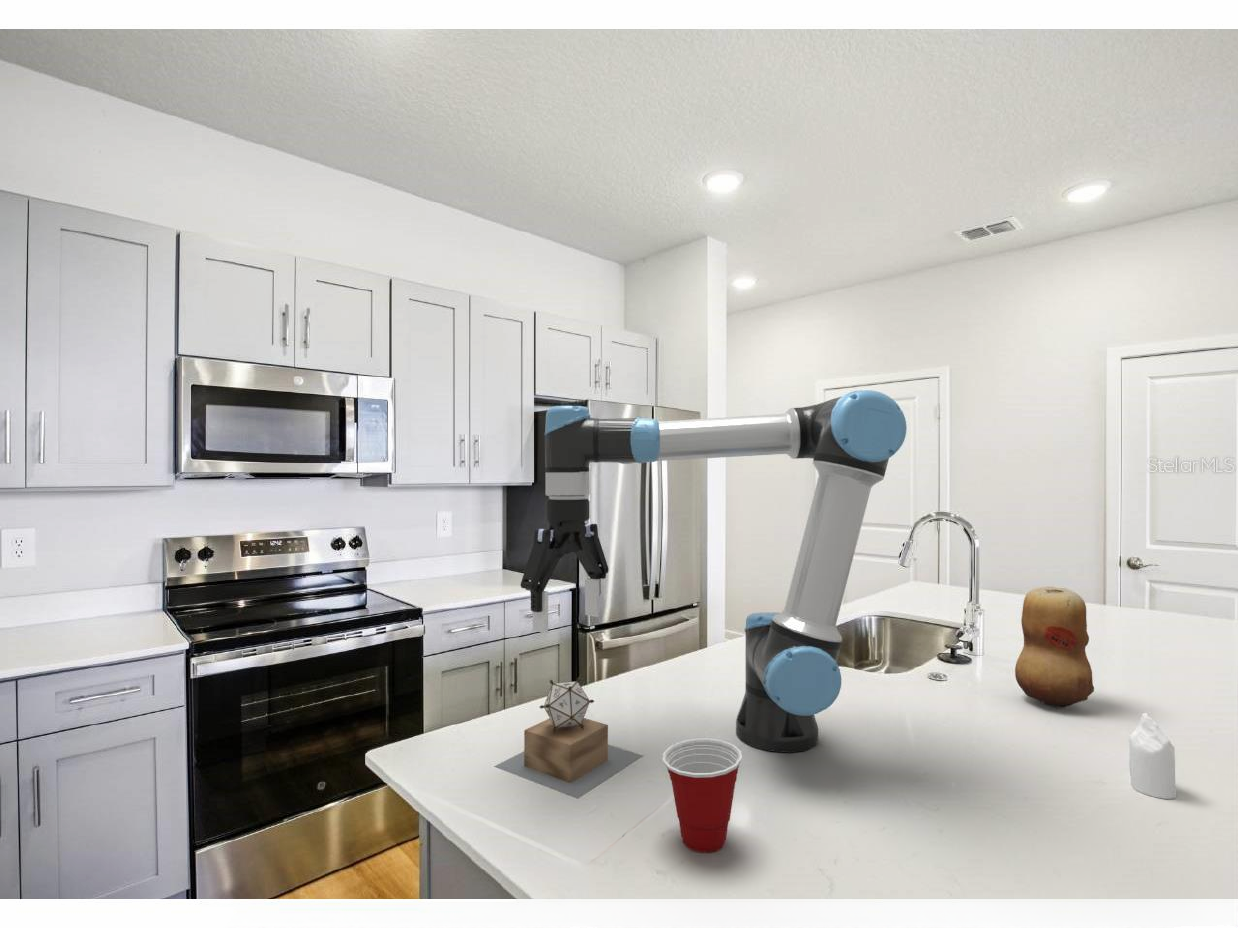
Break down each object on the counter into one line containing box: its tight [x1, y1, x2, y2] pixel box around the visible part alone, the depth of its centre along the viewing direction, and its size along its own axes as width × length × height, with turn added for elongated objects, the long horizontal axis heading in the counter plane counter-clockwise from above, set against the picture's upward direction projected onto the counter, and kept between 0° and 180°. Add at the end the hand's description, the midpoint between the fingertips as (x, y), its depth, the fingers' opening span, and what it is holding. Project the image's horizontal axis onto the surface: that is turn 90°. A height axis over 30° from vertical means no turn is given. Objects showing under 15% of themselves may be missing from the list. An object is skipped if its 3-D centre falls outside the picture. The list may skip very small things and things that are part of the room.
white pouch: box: [1128, 712, 1177, 800], centre depth 103 cm, size 6×12×6 cm
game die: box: [539, 676, 595, 733], centre depth 110 cm, size 9×8×10 cm
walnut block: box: [523, 717, 609, 783], centre depth 110 cm, size 10×10×6 cm
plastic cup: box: [662, 737, 743, 854], centre depth 88 cm, size 11×11×12 cm
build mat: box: [494, 744, 644, 799], centre depth 111 cm, size 18×18×1 cm
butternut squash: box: [1014, 586, 1095, 709], centre depth 139 cm, size 14×13×25 cm
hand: (567, 623), depth 110 cm, fingers open, 13 cm apart
